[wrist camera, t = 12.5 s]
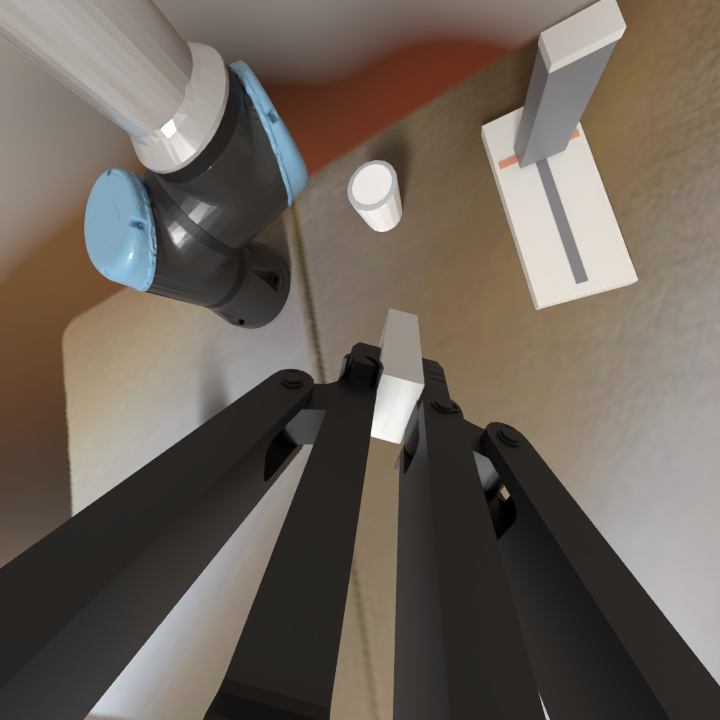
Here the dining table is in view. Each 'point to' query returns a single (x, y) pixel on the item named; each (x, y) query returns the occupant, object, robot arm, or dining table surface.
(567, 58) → the fader tab
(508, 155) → the fader base
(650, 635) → the robot arm
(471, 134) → the dining table surface
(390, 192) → the white cup
